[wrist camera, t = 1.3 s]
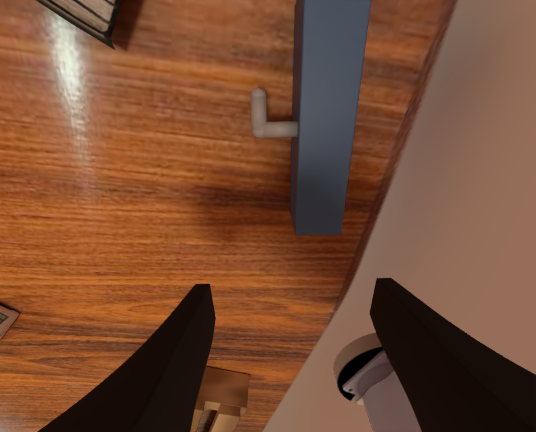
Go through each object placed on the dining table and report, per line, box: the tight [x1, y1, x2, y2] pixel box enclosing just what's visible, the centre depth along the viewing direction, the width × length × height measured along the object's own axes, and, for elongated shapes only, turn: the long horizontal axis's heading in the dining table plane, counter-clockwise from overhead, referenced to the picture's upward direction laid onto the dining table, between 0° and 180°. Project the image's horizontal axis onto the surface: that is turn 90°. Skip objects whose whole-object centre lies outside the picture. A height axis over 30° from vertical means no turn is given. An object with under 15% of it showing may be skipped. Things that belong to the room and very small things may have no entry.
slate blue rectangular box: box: [251, 0, 371, 235], centre depth 14 cm, size 5×12×4 cm, turn 1°
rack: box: [191, 367, 249, 432], centre depth 27 cm, size 10×16×4 cm, turn 162°
